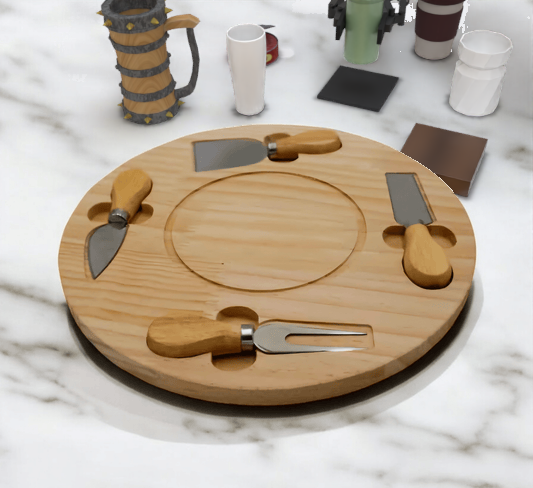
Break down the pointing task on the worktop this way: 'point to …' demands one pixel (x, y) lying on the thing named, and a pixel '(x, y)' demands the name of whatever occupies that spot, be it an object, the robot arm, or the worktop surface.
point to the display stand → (447, 154)
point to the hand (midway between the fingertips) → (358, 34)
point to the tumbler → (362, 30)
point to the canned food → (270, 46)
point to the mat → (358, 88)
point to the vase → (479, 72)
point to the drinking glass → (247, 66)
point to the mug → (148, 57)
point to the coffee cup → (436, 27)
